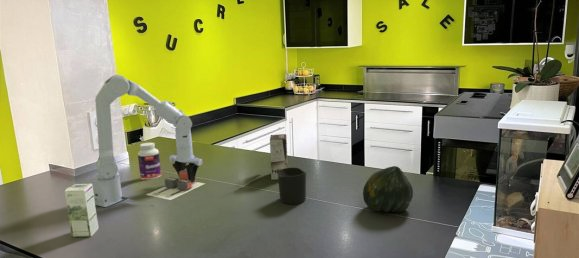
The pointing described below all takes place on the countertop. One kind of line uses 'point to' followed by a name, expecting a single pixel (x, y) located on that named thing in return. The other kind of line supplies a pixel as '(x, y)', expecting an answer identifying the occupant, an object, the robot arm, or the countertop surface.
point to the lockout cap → (184, 175)
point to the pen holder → (292, 185)
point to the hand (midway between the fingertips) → (187, 181)
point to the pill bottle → (149, 161)
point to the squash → (388, 190)
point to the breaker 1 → (171, 182)
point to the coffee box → (278, 154)
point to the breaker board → (172, 192)
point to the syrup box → (81, 210)
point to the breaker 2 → (184, 185)
